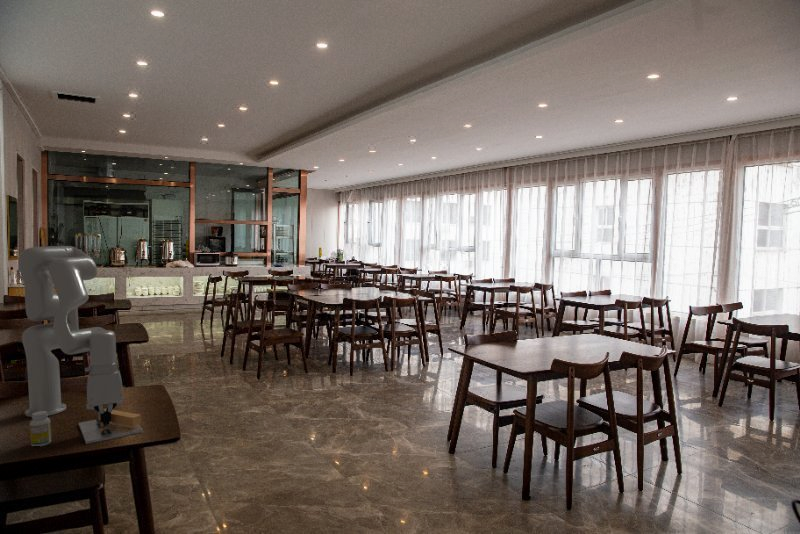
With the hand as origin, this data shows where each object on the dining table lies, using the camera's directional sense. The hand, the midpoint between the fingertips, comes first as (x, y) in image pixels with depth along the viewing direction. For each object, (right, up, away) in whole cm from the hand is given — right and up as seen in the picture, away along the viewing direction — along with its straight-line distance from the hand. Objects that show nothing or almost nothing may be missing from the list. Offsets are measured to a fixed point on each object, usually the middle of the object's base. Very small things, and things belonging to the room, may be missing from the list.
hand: (106, 423), depth 178 cm
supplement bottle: (-14, -3, -11) cm, 18 cm away
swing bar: (+3, 0, +3) cm, 4 cm away
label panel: (+1, -2, +1) cm, 2 cm away
